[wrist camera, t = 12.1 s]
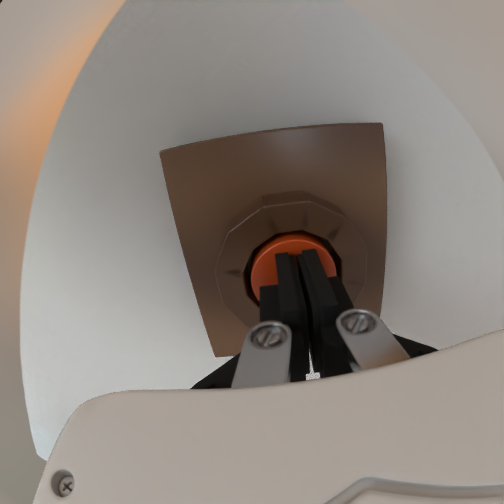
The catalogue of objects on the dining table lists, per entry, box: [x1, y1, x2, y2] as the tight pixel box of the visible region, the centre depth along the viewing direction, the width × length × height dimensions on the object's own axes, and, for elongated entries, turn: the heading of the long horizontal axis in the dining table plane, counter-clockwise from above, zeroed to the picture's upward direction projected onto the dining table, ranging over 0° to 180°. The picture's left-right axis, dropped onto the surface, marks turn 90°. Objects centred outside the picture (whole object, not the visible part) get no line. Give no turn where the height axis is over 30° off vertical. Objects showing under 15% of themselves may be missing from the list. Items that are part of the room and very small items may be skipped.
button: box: [251, 230, 336, 301], centre depth 12 cm, size 4×4×2 cm
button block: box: [160, 123, 387, 357], centre depth 14 cm, size 12×10×4 cm
